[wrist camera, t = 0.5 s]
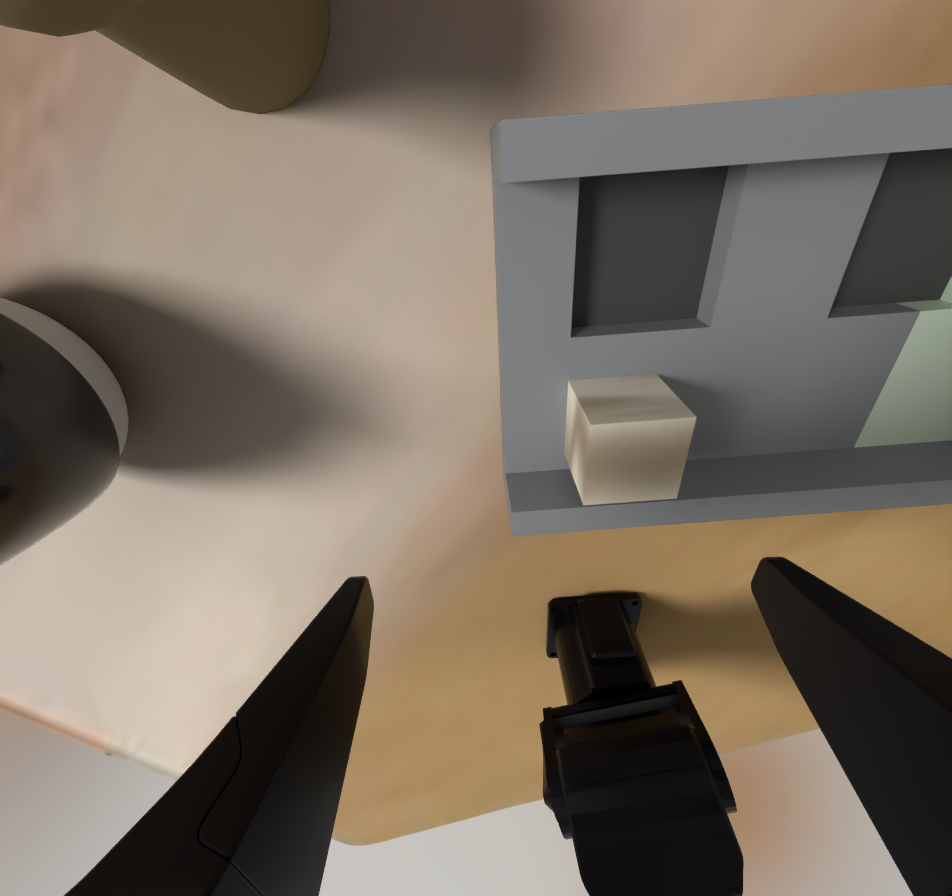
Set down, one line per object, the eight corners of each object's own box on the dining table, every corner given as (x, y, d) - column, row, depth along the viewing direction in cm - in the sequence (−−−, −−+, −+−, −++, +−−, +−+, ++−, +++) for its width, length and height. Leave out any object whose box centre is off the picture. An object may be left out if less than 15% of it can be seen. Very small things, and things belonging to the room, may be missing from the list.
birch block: (643, 447, 22) (676, 498, 19) (564, 453, 22) (583, 505, 19) (656, 374, 20) (696, 417, 16) (568, 380, 20) (590, 424, 16)
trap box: (964, 444, 24) (1057, 495, 21) (503, 478, 25) (512, 535, 21) (1208, 73, 16) (1446, 45, 12) (490, 130, 16) (500, 120, 12)
